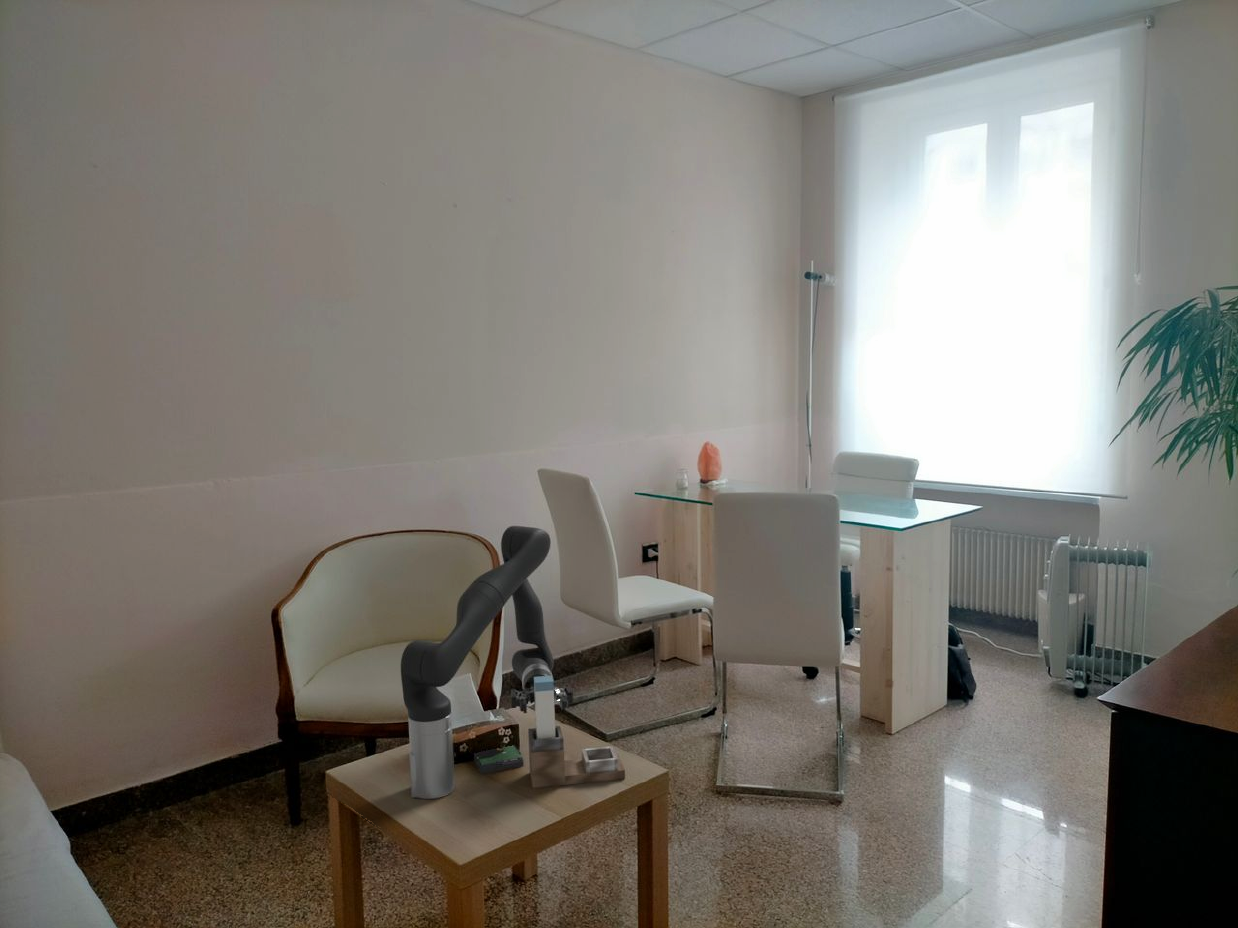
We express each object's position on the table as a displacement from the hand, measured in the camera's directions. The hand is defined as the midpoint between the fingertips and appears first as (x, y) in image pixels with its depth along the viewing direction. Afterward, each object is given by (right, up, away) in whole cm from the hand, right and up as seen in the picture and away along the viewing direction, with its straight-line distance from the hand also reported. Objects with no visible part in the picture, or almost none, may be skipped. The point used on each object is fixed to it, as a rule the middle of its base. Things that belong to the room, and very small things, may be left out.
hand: (544, 707), depth 208 cm
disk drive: (-13, -16, +14) cm, 25 cm away
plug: (0, -8, +1) cm, 8 cm away
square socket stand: (+6, -16, +3) cm, 18 cm away
